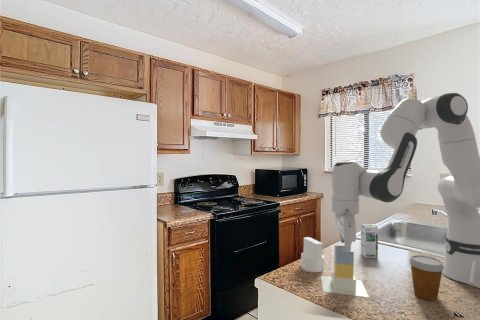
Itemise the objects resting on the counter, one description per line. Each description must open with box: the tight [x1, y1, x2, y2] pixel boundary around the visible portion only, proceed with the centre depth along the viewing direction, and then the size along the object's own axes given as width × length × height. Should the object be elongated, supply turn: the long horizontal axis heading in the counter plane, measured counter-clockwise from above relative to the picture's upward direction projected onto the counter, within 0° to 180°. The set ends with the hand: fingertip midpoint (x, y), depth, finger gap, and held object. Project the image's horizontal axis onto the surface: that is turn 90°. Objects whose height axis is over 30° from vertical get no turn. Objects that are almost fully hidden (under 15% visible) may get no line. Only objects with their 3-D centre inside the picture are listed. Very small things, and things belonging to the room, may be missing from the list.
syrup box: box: [360, 223, 379, 259], centre depth 124 cm, size 6×6×14 cm
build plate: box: [320, 275, 370, 298], centre depth 92 cm, size 14×12×1 cm
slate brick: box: [333, 244, 355, 265], centre depth 92 cm, size 6×6×4 cm
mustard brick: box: [333, 257, 354, 279], centre depth 92 cm, size 6×6×4 cm
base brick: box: [331, 268, 357, 292], centre depth 92 cm, size 7×7×4 cm
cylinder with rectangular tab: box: [300, 236, 325, 273], centre depth 107 cm, size 9×9×12 cm
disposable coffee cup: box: [408, 254, 444, 302], centre depth 88 cm, size 10×10×12 cm
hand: (345, 246), depth 93 cm, fingers open, 8 cm apart
